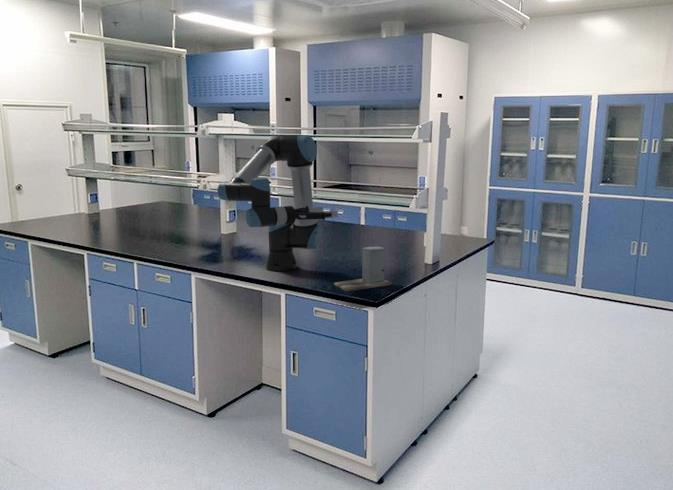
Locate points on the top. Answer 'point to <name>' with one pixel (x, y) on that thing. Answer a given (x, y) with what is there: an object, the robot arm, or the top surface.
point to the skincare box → (373, 264)
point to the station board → (359, 284)
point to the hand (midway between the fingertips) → (329, 211)
